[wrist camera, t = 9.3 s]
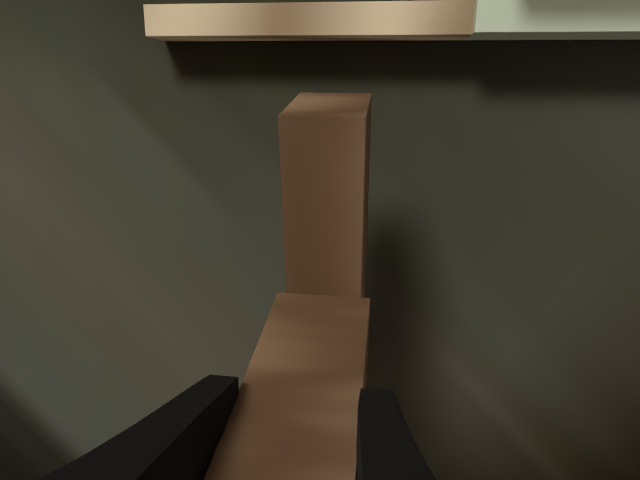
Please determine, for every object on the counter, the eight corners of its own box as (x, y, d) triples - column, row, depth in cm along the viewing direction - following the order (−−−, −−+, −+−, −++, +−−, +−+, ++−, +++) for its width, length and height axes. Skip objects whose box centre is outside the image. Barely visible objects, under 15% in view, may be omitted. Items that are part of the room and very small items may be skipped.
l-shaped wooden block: (380, 93, 14) (359, 235, 6) (367, 414, 19) (347, 719, 11) (291, 92, 14) (151, 225, 6) (303, 408, 19) (238, 701, 11)
